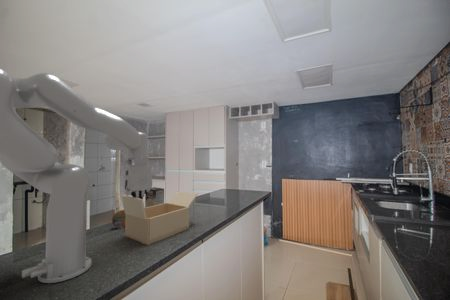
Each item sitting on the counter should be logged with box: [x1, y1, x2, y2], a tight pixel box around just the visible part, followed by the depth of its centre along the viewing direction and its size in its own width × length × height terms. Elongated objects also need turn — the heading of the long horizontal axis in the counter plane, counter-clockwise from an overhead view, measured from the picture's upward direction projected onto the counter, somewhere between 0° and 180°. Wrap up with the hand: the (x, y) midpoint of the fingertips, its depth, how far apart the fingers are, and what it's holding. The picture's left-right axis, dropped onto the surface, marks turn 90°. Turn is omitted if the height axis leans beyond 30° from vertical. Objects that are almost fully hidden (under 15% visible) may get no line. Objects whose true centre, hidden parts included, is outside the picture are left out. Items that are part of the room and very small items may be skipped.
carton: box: [124, 202, 190, 246], centre depth 91 cm, size 22×17×10 cm
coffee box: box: [144, 186, 165, 208], centre depth 113 cm, size 9×6×16 cm
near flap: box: [121, 194, 146, 219], centre depth 81 cm, size 8×14×1 cm
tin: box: [111, 209, 126, 230], centre depth 99 cm, size 15×3×8 cm, turn 129°
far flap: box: [168, 191, 198, 208], centre depth 103 cm, size 8×14×1 cm
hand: (138, 206), depth 83 cm, fingers closed
